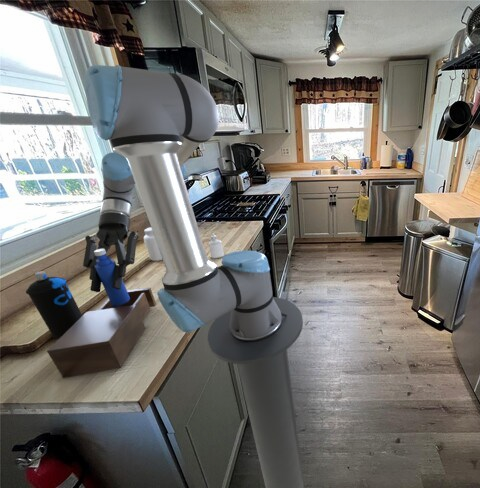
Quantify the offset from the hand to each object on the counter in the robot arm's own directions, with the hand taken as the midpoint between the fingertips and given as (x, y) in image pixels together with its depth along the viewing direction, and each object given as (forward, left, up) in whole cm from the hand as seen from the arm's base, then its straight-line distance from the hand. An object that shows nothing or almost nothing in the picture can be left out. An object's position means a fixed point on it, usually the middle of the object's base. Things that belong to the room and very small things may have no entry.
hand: (105, 289), depth 73 cm
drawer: (0, -6, -14) cm, 15 cm away
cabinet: (0, +8, -15) cm, 17 cm away
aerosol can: (+17, -5, -15) cm, 23 cm away
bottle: (0, -4, -7) cm, 8 cm away
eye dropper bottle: (-20, -47, -15) cm, 53 cm away
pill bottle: (+8, -54, -15) cm, 56 cm away
